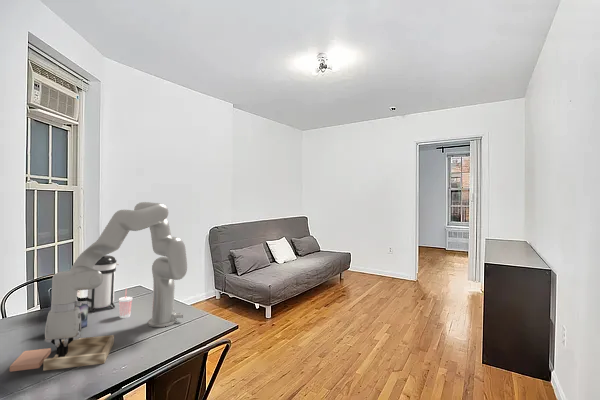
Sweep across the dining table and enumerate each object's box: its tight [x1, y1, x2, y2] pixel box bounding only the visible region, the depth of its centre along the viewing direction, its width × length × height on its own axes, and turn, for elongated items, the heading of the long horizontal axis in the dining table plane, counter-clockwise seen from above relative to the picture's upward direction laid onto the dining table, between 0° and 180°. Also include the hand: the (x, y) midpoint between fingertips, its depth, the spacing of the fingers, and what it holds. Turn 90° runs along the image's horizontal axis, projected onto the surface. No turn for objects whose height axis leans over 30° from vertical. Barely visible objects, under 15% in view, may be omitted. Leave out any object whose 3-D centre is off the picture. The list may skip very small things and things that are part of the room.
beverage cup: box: [118, 287, 133, 319], centre depth 158 cm, size 6×6×14 cm
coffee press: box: [77, 254, 120, 313], centre depth 166 cm, size 17×16×30 cm
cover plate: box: [9, 347, 52, 372], centre depth 112 cm, size 8×11×3 cm
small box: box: [77, 302, 89, 330], centre depth 140 cm, size 11×6×10 cm, turn 168°
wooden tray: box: [42, 334, 115, 371], centre depth 117 cm, size 18×16×4 cm
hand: (62, 356), depth 115 cm, fingers closed
